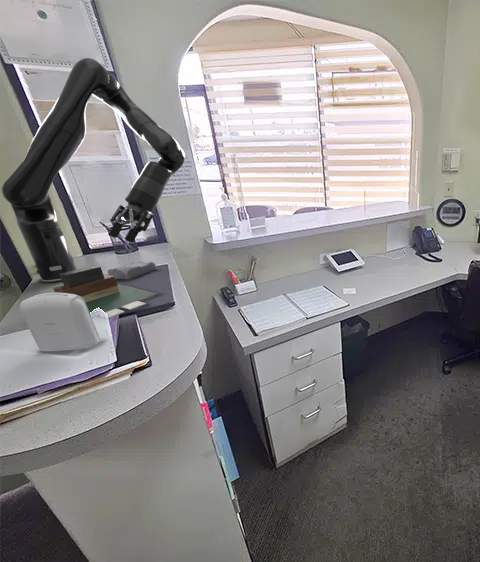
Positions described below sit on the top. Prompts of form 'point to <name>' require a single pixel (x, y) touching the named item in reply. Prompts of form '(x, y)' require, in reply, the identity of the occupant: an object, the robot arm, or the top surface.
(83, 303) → the photo printer
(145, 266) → the stone block
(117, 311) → the chalk smudge
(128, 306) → the chalk smudge
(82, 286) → the eraser
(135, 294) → the chalkboard
